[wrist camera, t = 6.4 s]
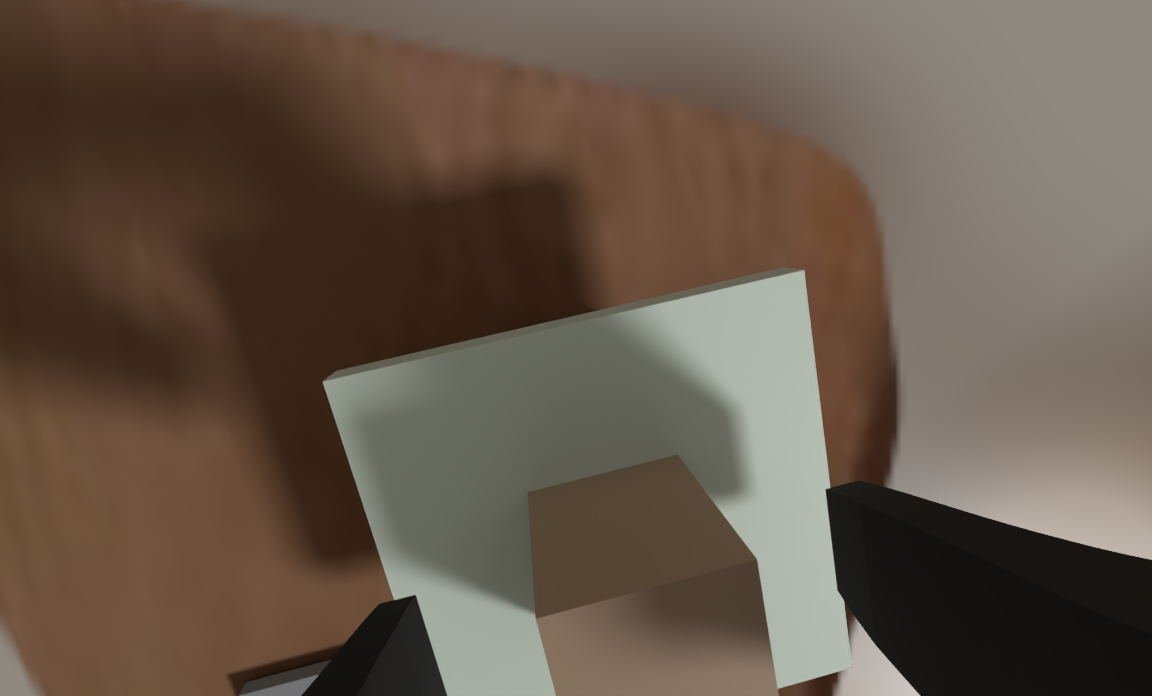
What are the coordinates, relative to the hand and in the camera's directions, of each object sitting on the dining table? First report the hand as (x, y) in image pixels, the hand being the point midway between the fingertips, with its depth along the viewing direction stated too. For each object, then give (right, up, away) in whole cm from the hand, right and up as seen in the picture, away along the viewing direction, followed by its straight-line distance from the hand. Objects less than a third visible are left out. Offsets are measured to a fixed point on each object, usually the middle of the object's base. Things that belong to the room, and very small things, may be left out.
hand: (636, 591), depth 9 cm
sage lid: (0, 0, +2) cm, 3 cm away
